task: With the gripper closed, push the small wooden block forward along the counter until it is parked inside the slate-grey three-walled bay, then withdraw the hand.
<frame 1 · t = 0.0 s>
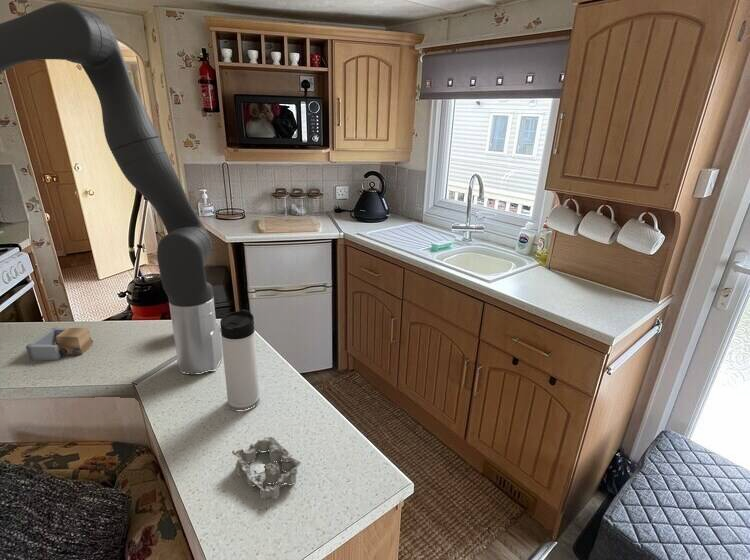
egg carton: (267, 474, 71), on the worktop
bay: (58, 349, 104), on the worktop
small wooden block: (77, 350, 104), on the worktop
travel mug: (244, 402, 88), on the worktop
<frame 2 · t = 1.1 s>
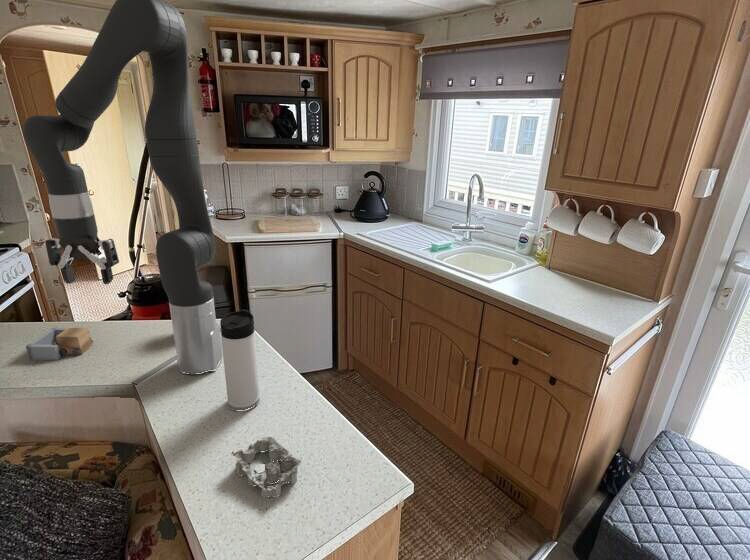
hand: (89, 282, 97), 18 cm above the worktop, tool pointing down, fingers open, 8 cm apart
nothing on the worktop moved.
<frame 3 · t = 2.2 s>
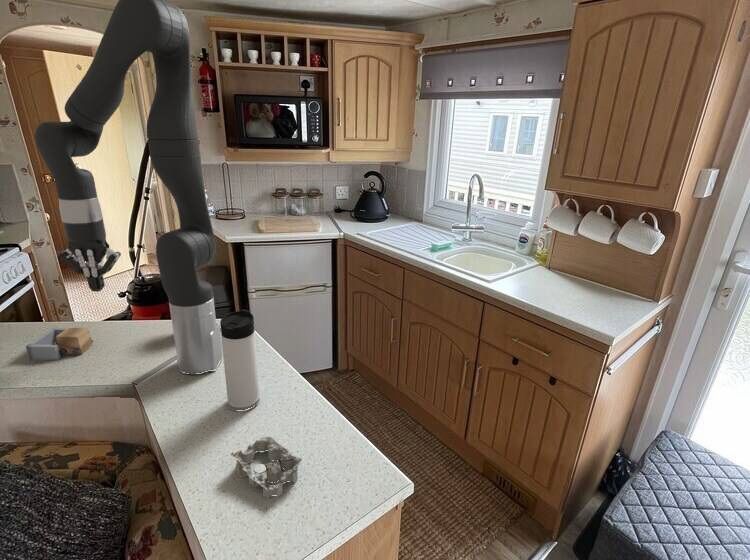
hand: (97, 290, 98), 16 cm above the worktop, tool pointing down, fingers closed
nothing on the worktop moved.
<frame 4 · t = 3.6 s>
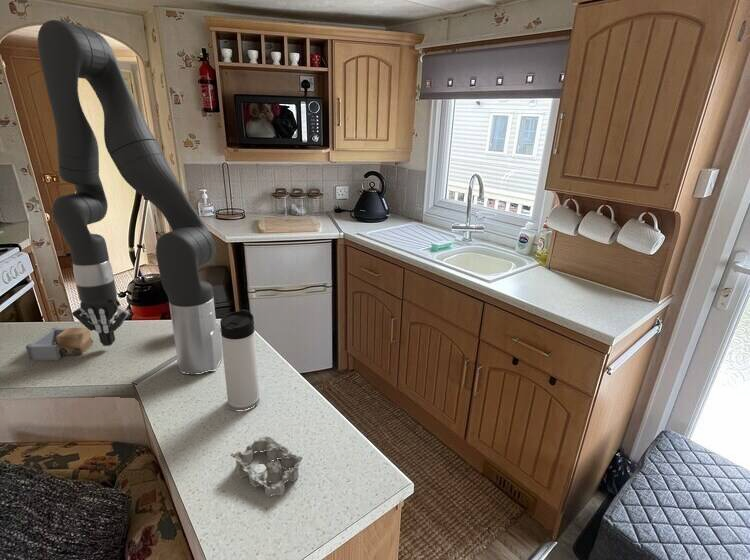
hand: (108, 344, 104), 2 cm above the worktop, tool pointing down, fingers closed
nothing on the worktop moved.
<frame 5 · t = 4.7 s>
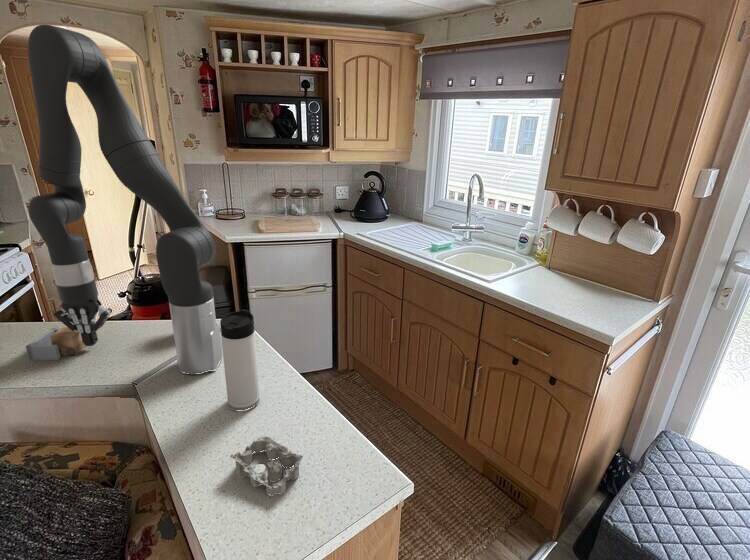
hand: (91, 344, 103), 2 cm above the worktop, tool pointing down, fingers closed
small wooden block: (71, 349, 104), on the worktop, touching gripper
everything else where it was.
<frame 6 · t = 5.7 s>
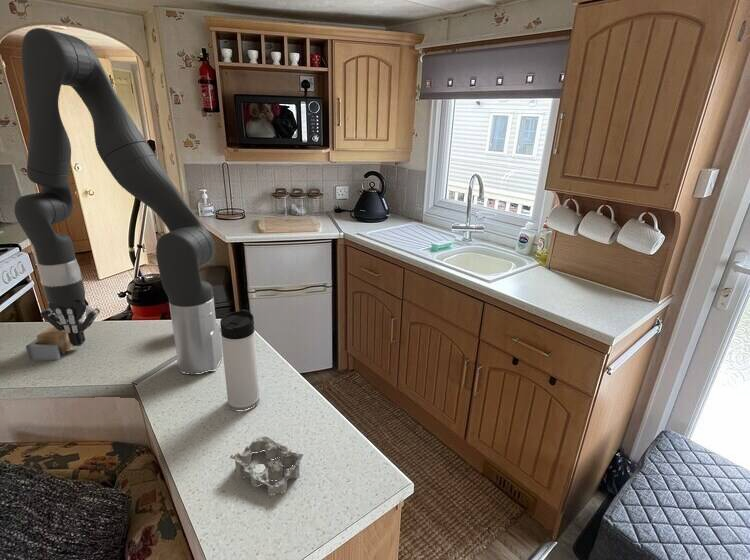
hand: (78, 344, 103), 1 cm above the worktop, tool pointing down, fingers closed
small wooden block: (58, 349, 103), on the worktop, touching gripper
everything else where it was.
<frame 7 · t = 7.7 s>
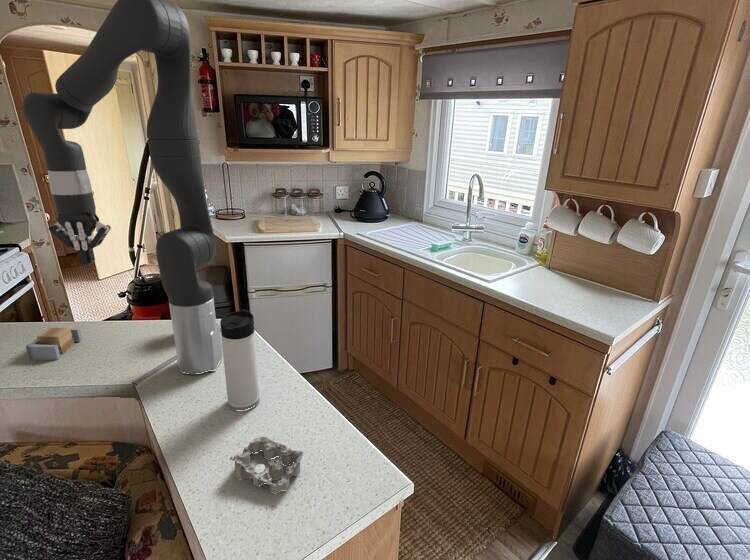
hand: (87, 264, 99), 22 cm above the worktop, tool pointing down, fingers closed
small wooden block: (58, 350, 103), on the worktop
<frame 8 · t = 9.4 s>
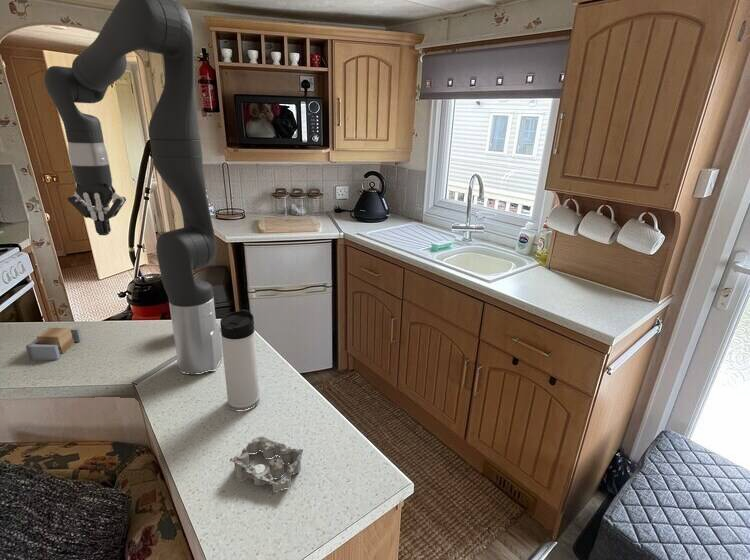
hand: (104, 234, 104), 27 cm above the worktop, tool pointing down, fingers closed
at the end: small wooden block 0.2 cm off-centre on the bay, point 0.0 cm above the bay's base; small wooden block tilted 0° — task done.
